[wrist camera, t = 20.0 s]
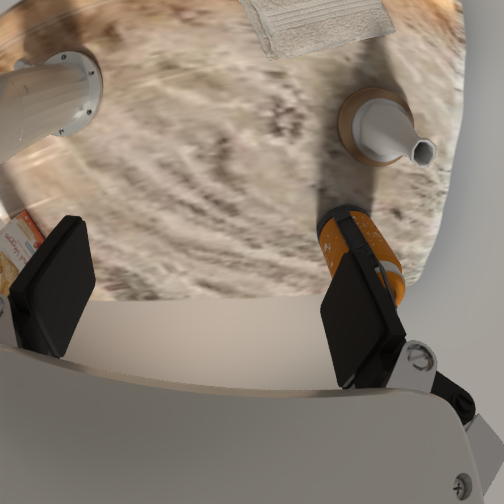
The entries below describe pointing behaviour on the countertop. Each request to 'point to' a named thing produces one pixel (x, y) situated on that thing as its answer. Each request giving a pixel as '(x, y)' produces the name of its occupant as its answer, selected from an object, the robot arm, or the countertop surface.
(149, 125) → the countertop surface
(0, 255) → the cracker box
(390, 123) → the flask
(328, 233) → the canister
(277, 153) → the countertop surface
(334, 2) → the washcloth
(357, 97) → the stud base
